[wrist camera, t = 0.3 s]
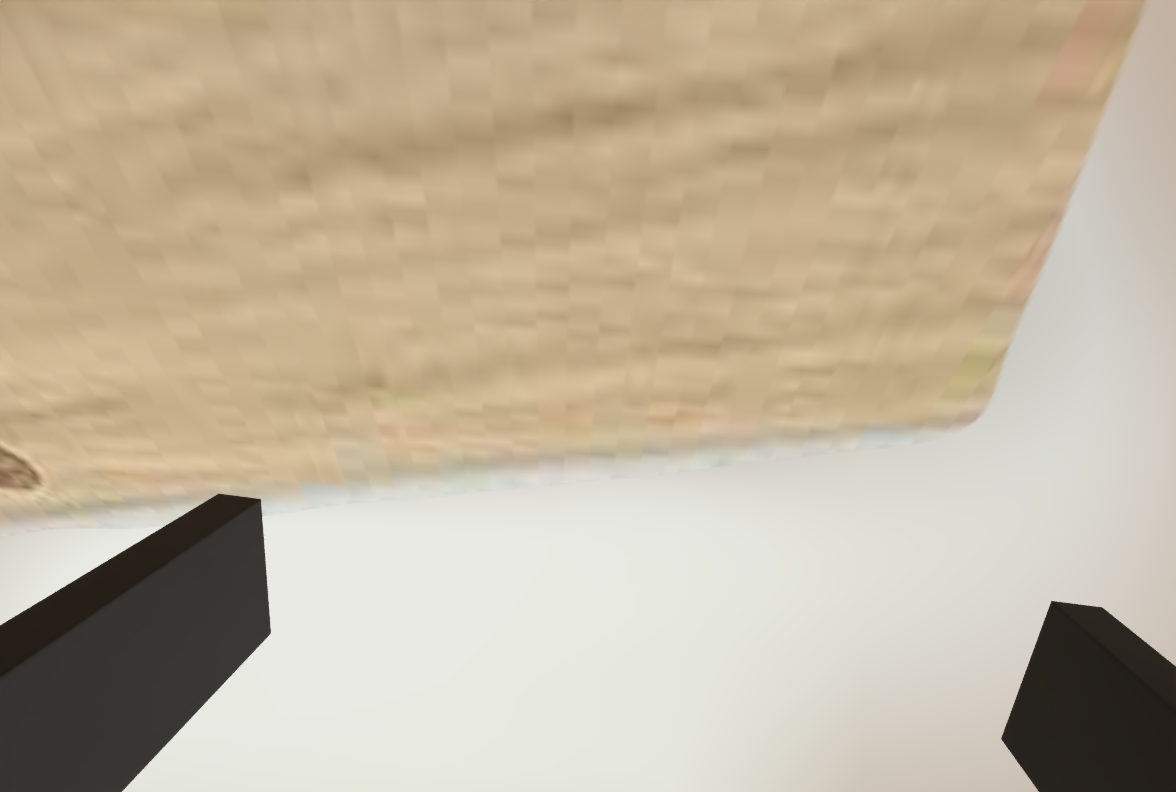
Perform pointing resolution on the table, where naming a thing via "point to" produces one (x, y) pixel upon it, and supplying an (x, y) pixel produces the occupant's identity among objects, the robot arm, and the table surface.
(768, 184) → the table surface
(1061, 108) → the table surface
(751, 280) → the table surface
